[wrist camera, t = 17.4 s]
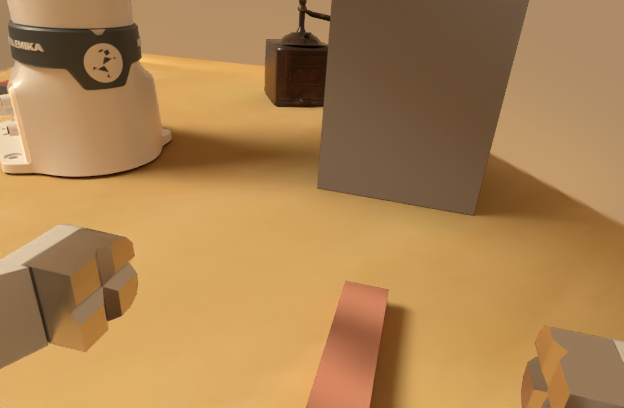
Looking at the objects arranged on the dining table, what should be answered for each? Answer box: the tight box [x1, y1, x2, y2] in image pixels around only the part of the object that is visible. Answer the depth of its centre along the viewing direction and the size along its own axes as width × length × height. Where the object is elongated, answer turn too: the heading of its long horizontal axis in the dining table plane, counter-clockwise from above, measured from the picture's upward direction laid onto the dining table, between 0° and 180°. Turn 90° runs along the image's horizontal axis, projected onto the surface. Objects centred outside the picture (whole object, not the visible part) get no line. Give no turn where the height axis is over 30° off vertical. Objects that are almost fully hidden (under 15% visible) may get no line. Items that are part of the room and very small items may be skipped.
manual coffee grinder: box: [264, 0, 331, 107], centre depth 78 cm, size 16×11×18 cm
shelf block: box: [317, 0, 529, 215], centre depth 48 cm, size 17×17×26 cm
